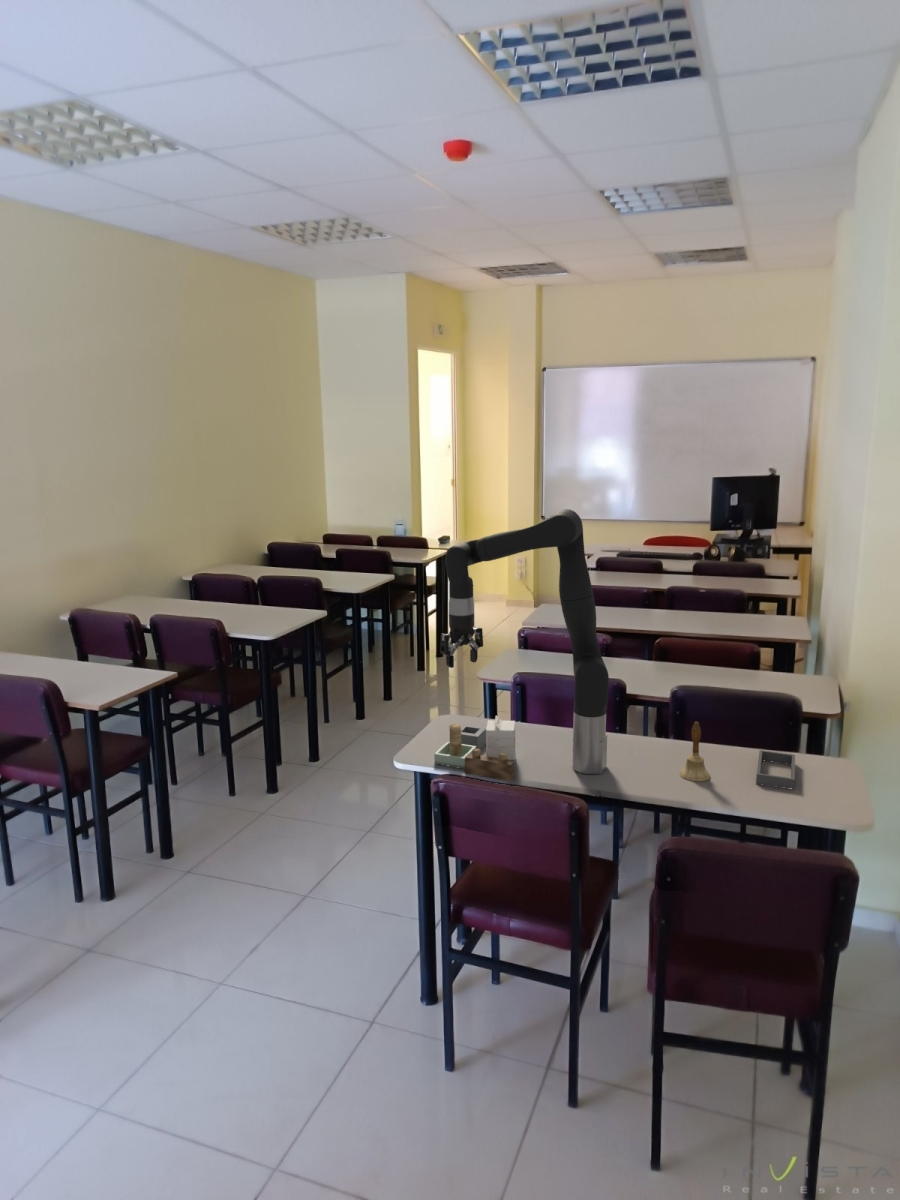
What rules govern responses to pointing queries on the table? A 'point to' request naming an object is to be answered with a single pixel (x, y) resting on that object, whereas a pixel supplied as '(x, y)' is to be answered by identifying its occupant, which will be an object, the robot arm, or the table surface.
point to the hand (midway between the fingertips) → (462, 664)
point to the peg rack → (490, 766)
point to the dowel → (455, 740)
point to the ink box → (500, 738)
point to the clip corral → (772, 779)
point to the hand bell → (695, 760)
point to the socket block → (473, 735)
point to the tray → (446, 759)
